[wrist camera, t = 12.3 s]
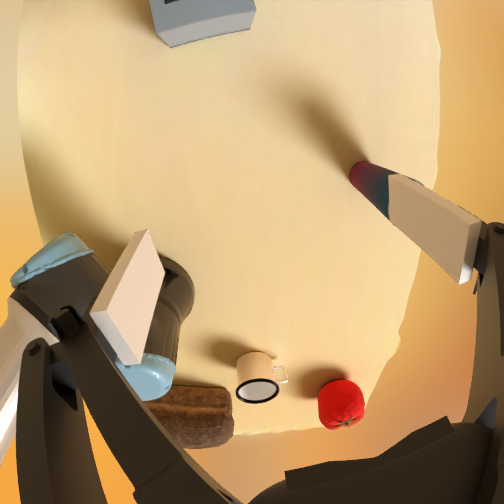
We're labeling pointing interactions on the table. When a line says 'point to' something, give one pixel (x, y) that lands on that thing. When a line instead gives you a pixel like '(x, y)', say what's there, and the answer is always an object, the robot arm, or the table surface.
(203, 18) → the grey hollow box
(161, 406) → the bread
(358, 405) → the tomato
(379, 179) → the cup
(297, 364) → the table surface
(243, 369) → the mug
